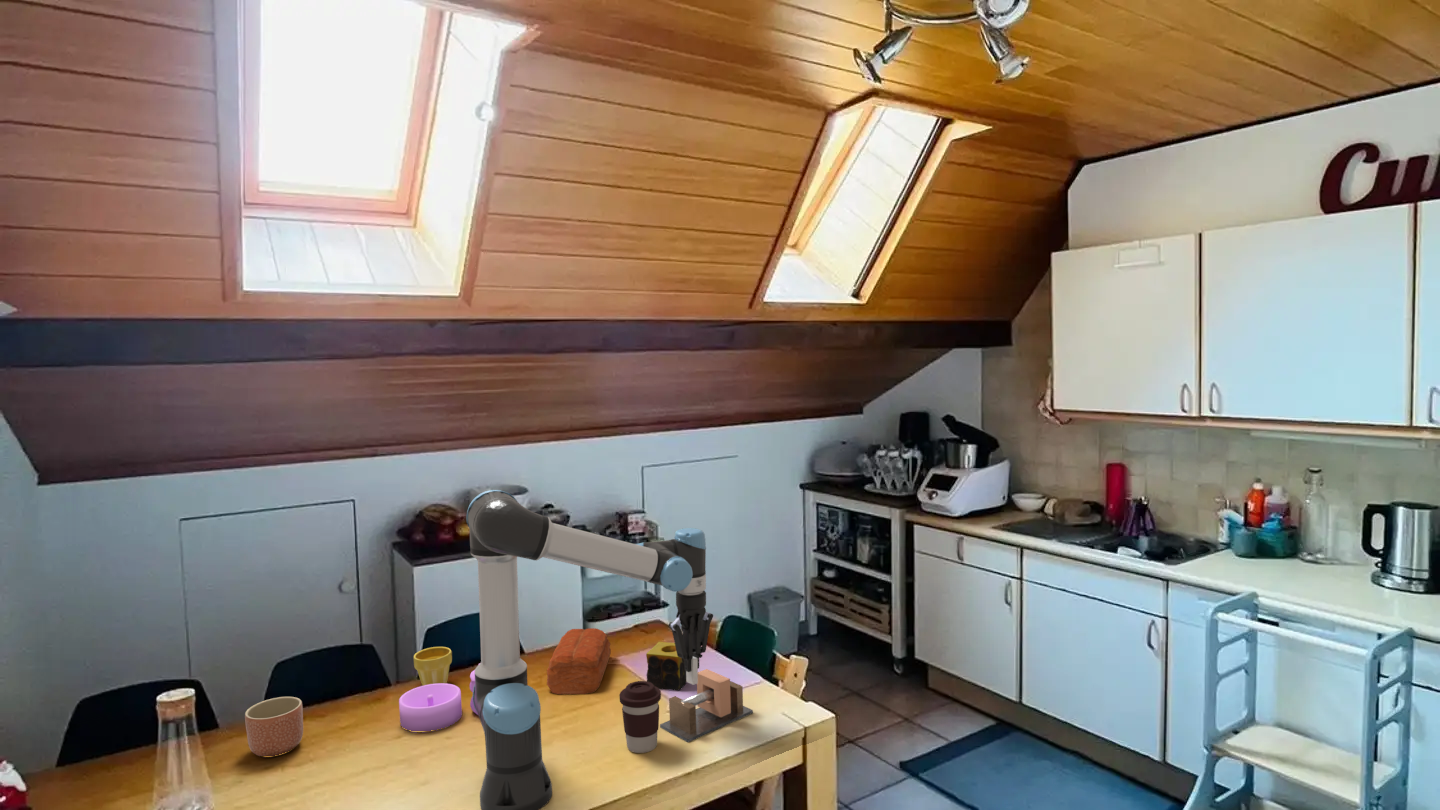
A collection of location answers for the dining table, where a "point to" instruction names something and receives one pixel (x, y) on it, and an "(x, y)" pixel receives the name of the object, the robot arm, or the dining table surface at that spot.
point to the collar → (715, 692)
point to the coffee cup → (640, 715)
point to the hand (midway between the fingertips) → (692, 682)
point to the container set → (432, 706)
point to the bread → (579, 662)
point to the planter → (274, 725)
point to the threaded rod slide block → (702, 714)
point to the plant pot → (433, 665)
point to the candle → (665, 667)
